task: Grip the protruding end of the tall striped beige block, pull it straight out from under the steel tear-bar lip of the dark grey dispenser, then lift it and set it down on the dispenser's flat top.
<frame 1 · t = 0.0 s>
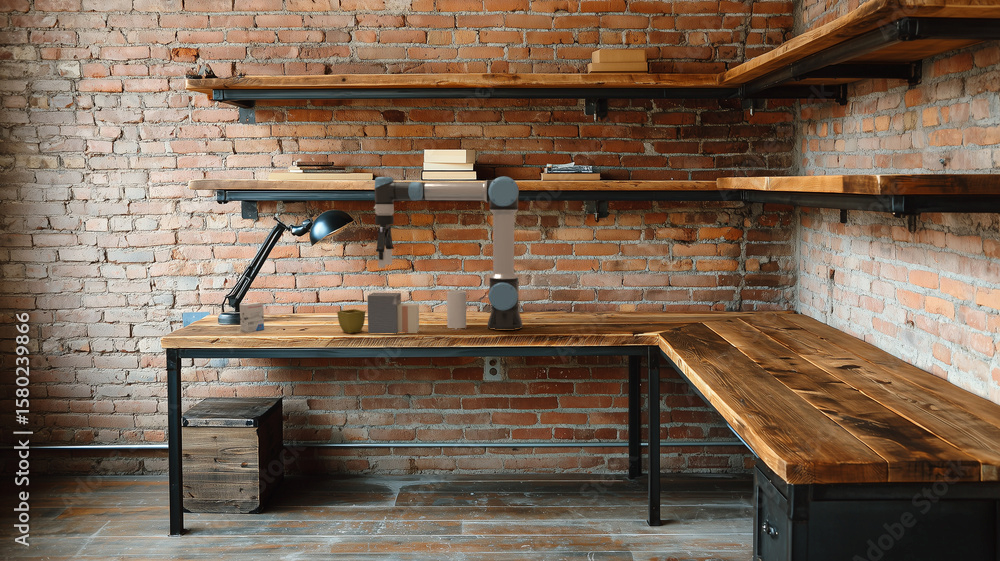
hand: (385, 266, 305), 28 cm above the table, fingers open, 13 cm apart
flower pot: (351, 332, 310), on the table
striped beige block: (403, 332, 309), on the table
dispenser: (385, 332, 310), on the table
ink box: (252, 330, 313), on the table
cup: (456, 328, 320), on the table
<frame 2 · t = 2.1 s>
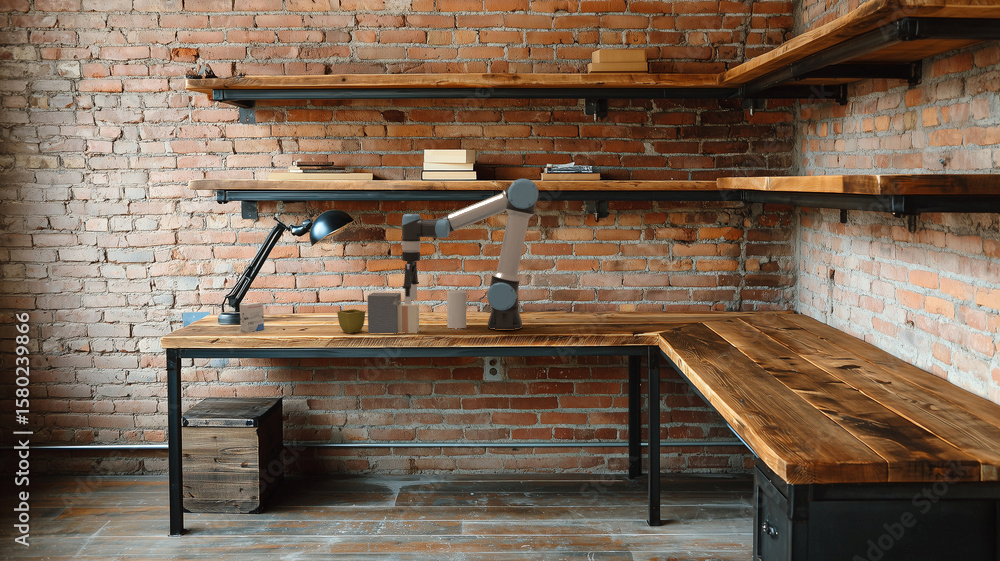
hand: (410, 302, 308), 13 cm above the table, fingers open, 13 cm apart
nothing on the table moved.
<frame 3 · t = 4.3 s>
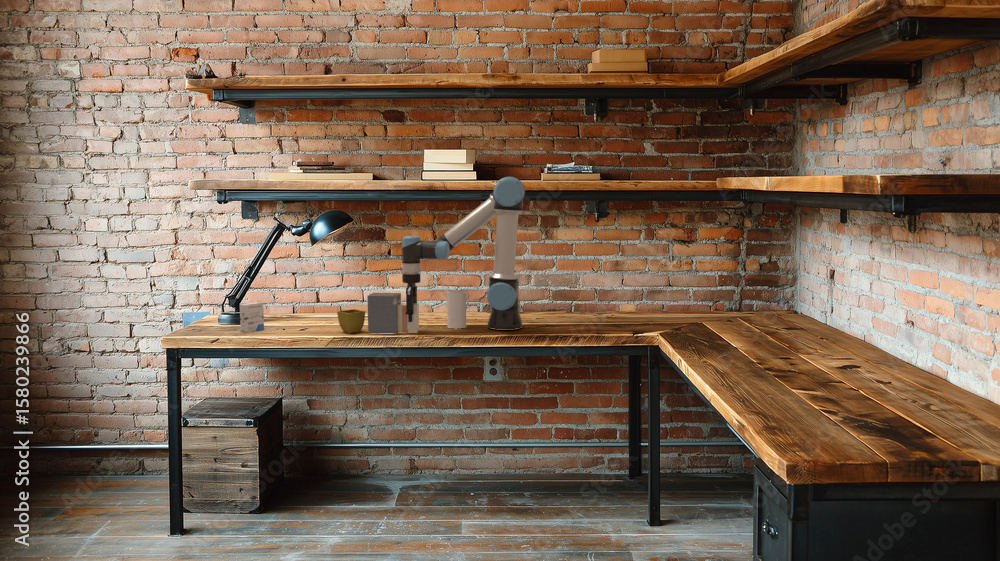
hand: (412, 328, 309), 2 cm above the table, fingers closed on striped beige block, 5 cm apart
striped beige block: (403, 332, 309), on the table, touching gripper
everything else where it was.
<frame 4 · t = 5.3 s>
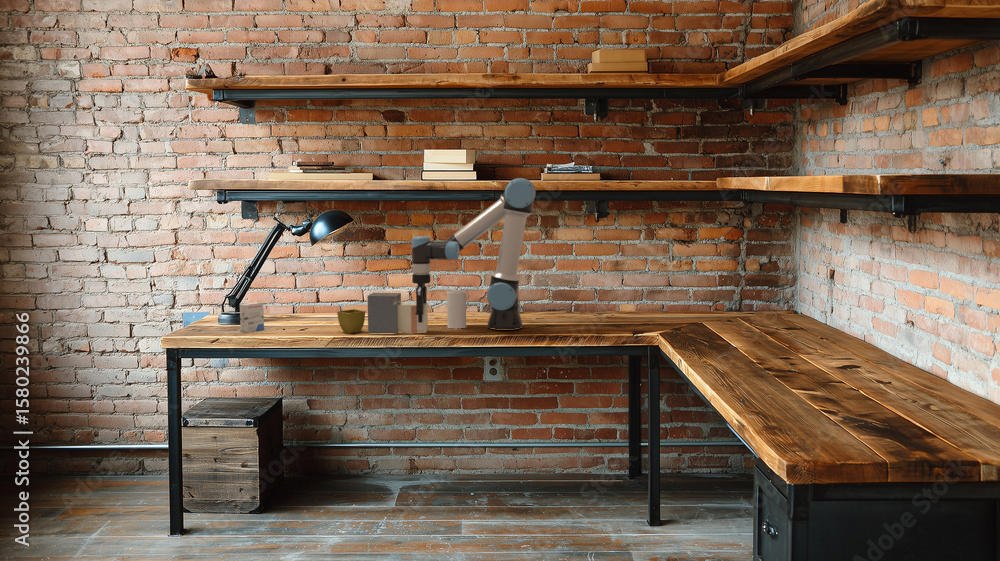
hand: (421, 328, 309), 2 cm above the table, fingers closed on striped beige block, 5 cm apart
striped beige block: (412, 332, 309), on the table, touching gripper
everything else where it was.
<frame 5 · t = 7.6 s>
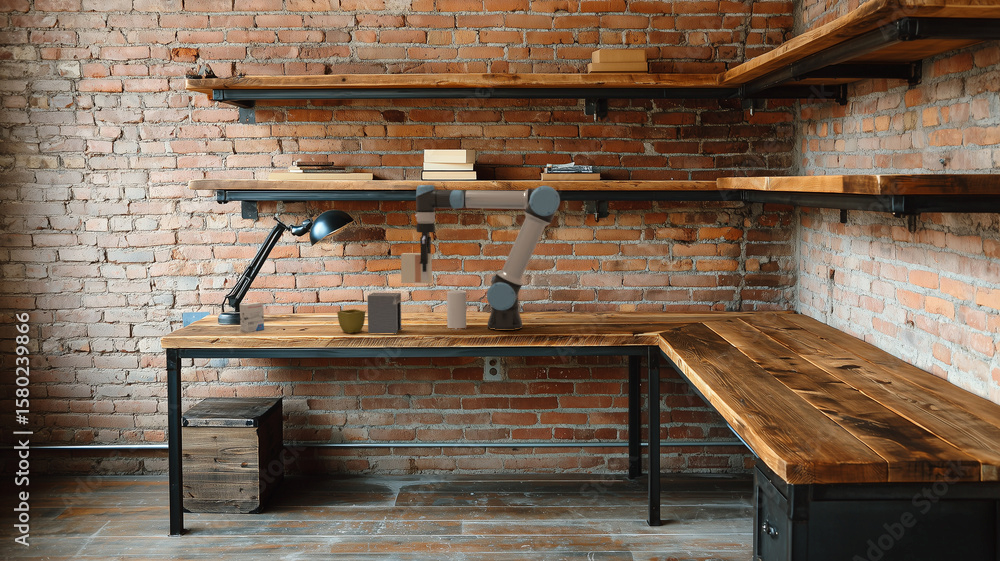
hand: (426, 278, 306), 23 cm above the table, fingers closed on striped beige block, 5 cm apart
striped beige block: (416, 282, 307), point 21 cm above the table, touching gripper
everything else where it was.
when the fingers open (19 cm above the table, at t = 9.9 s): striped beige block drops 1 cm, resting on dispenser.
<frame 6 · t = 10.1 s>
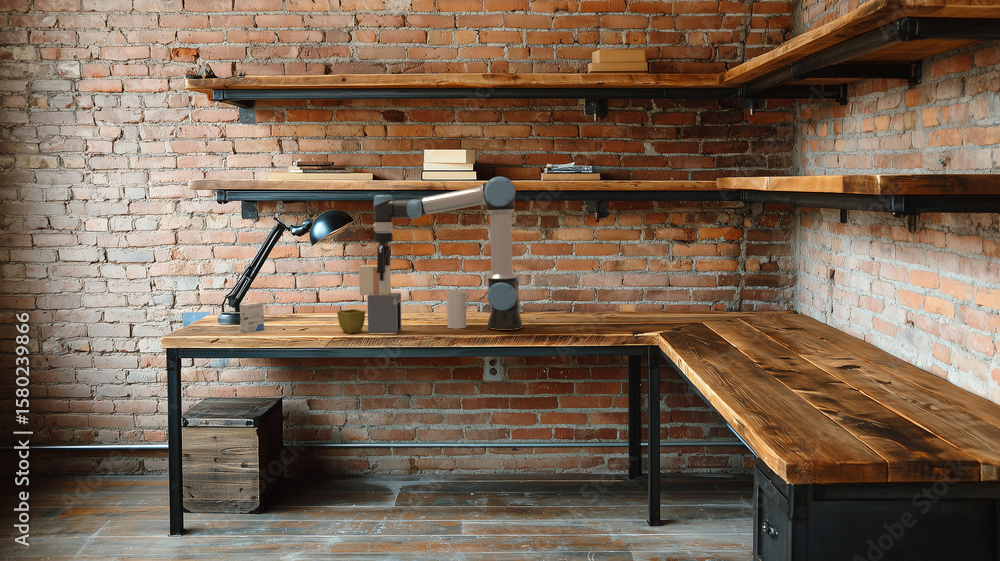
hand: (384, 287, 307), 19 cm above the table, fingers open, 7 cm apart
striped beige block: (375, 294, 308), point 16 cm above the table, touching dispenser
everything else where it was.
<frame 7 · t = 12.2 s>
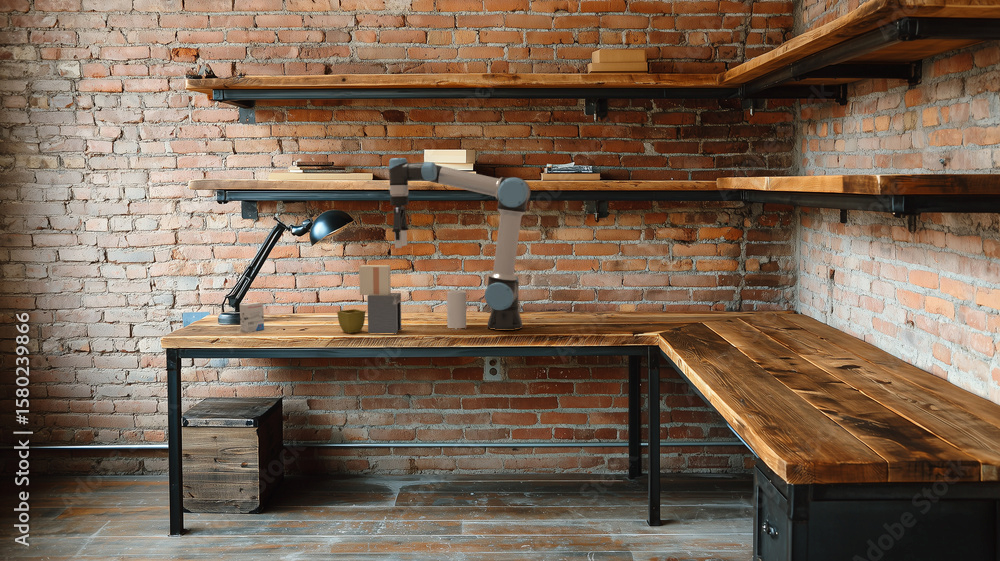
hand: (401, 246, 308), 36 cm above the table, fingers open, 13 cm apart
nothing on the table moved.
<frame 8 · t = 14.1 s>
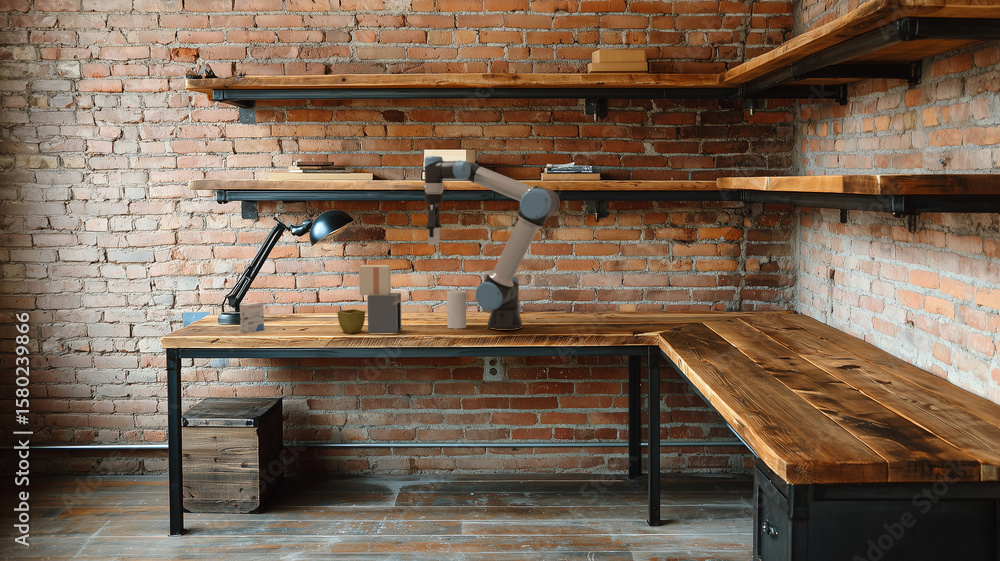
hand: (434, 243, 312), 37 cm above the table, fingers open, 13 cm apart
nothing on the table moved.
at the end: striped beige block inside the target area on the dispenser (3.8 cm from its centre), point 16.0 cm above the dispenser's base; the gripper is holding nothing; striped beige block moved 19.9 cm from its start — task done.
